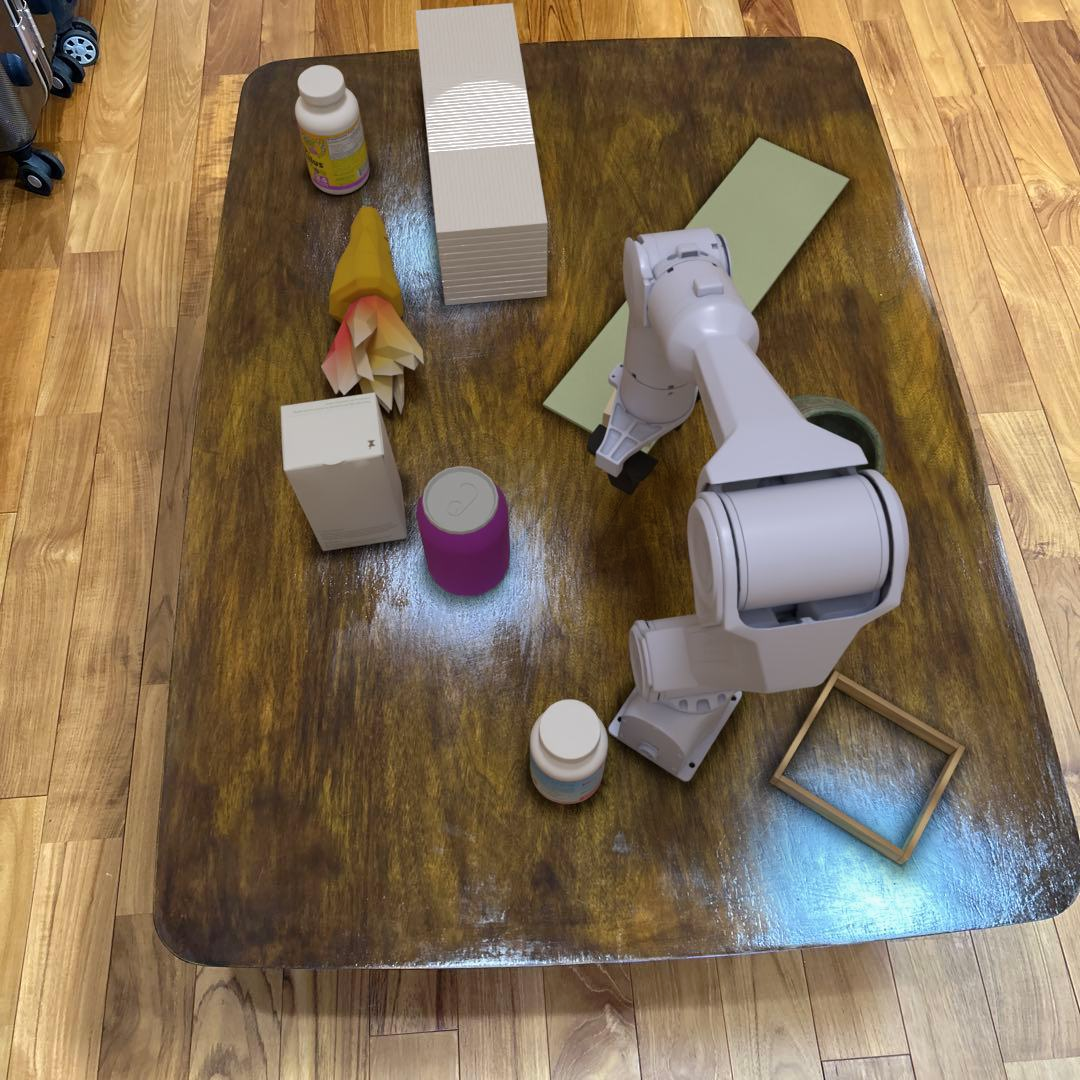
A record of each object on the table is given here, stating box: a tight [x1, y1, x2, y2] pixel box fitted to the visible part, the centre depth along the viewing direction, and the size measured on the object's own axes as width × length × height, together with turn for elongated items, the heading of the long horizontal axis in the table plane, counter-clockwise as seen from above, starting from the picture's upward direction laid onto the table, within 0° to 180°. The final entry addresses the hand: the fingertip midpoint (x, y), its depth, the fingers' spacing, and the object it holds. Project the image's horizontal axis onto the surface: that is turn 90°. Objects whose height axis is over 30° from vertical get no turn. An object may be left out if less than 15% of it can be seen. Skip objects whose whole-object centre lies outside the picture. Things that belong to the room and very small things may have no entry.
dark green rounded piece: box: [789, 394, 887, 478], centre depth 97 cm, size 15×15×10 cm
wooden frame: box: [768, 670, 966, 866], centre depth 89 cm, size 11×12×2 cm
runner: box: [542, 137, 850, 455], centre depth 113 cm, size 44×12×1 cm, turn 146°
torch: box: [320, 205, 425, 415], centre depth 108 cm, size 8×8×25 cm
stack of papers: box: [414, 2, 548, 306], centre depth 115 cm, size 32×11×11 cm, turn 7°
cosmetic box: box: [280, 392, 408, 552], centre depth 94 cm, size 8×7×16 cm
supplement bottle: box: [294, 64, 371, 196], centre depth 115 cm, size 7×7×13 cm
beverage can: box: [415, 465, 511, 597], centre depth 93 cm, size 8×8×12 cm
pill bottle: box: [529, 698, 609, 805], centre depth 85 cm, size 6×6×11 cm
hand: (646, 454), depth 92 cm, fingers open, 7 cm apart
